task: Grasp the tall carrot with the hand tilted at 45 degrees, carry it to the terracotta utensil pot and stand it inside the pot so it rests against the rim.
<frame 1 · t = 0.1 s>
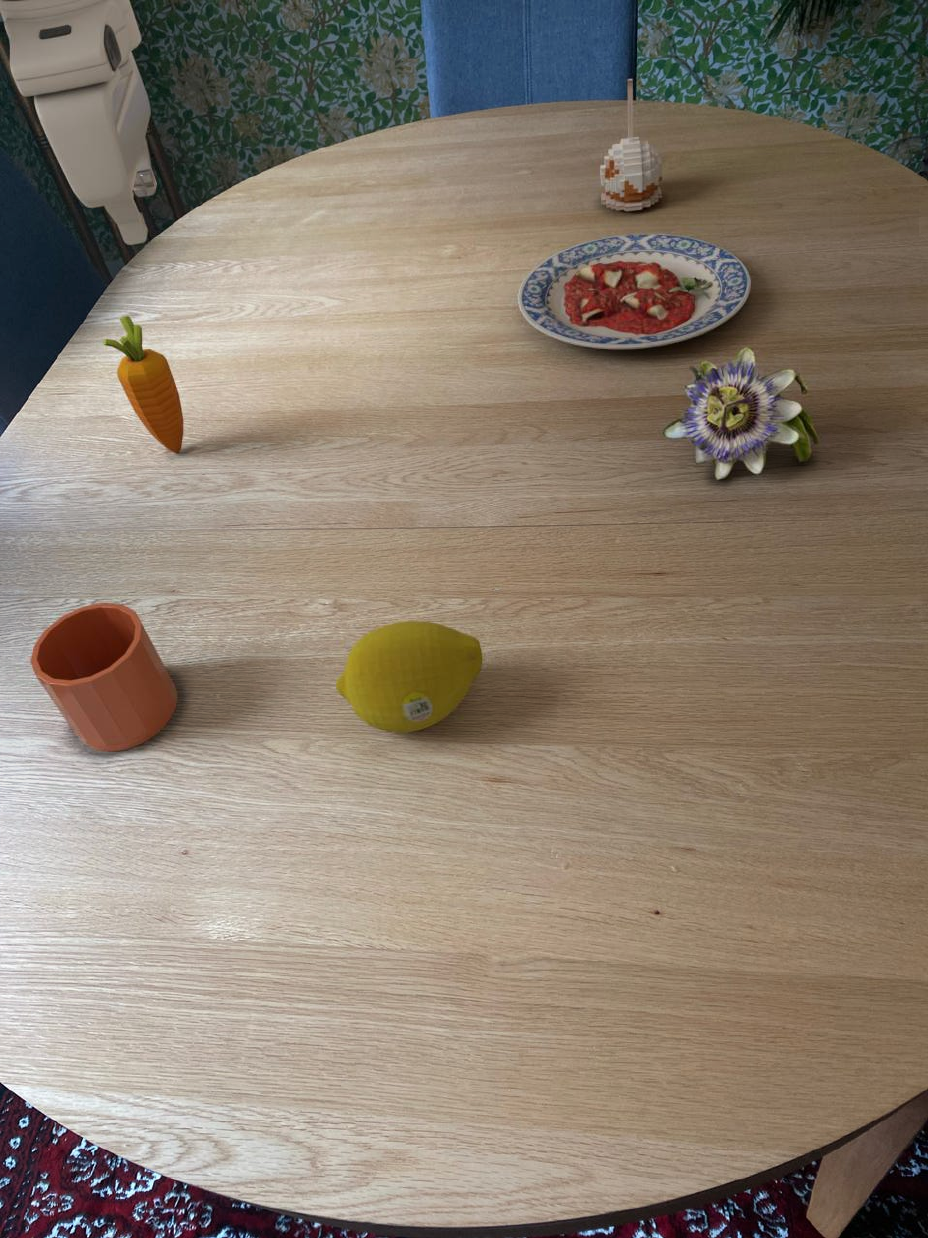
hand: (142, 215, 81), 26 cm above the table, tool pointing down, fingers open, 8 cm apart
lemon: (419, 712, 74), on the table
passion flower: (739, 453, 91), on the table
decorative ornament: (631, 203, 130), on the table
utensil pot: (126, 710, 78), on the table
carrot: (178, 453, 103), on the table
ceramic plate: (632, 305, 112), on the table
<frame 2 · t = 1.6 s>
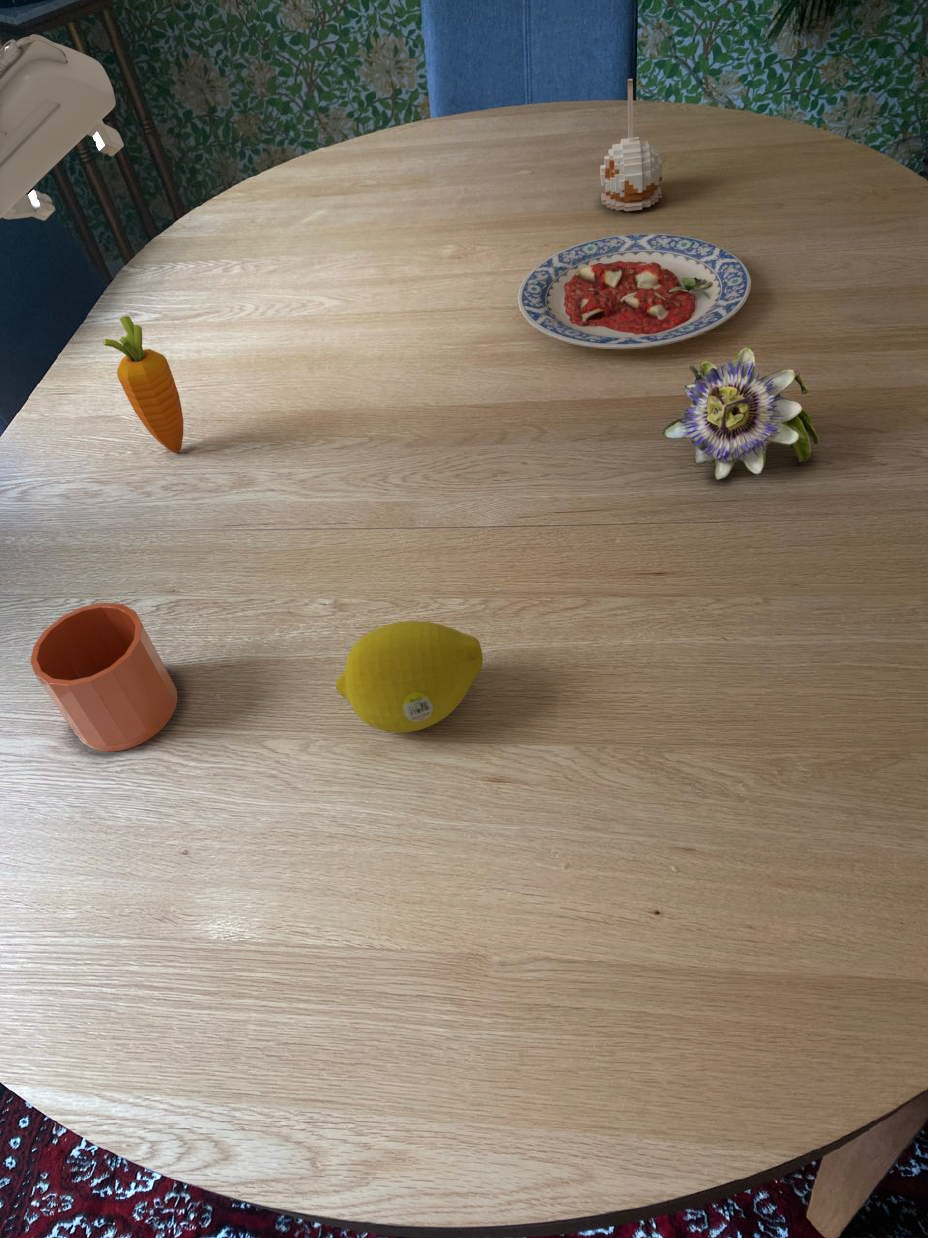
hand: (81, 177, 87), 27 cm above the table, tool tilted 50°, fingers open, 8 cm apart
nothing on the table moved.
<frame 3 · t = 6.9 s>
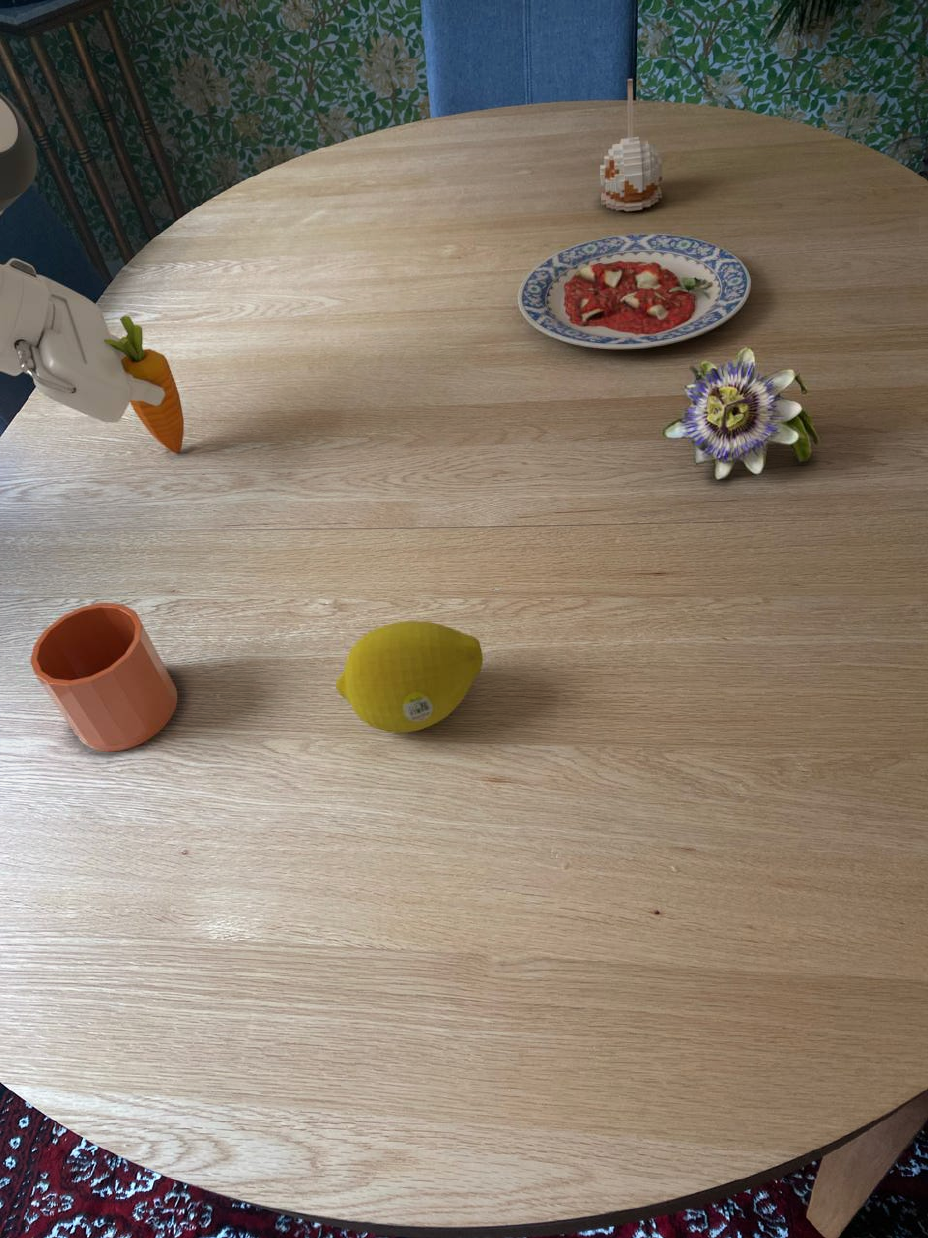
hand: (155, 381, 97), 8 cm above the table, tool tilted 45°, fingers closed on carrot, 5 cm apart
carrot: (178, 453, 103), on the table, touching gripper
everything else where it was.
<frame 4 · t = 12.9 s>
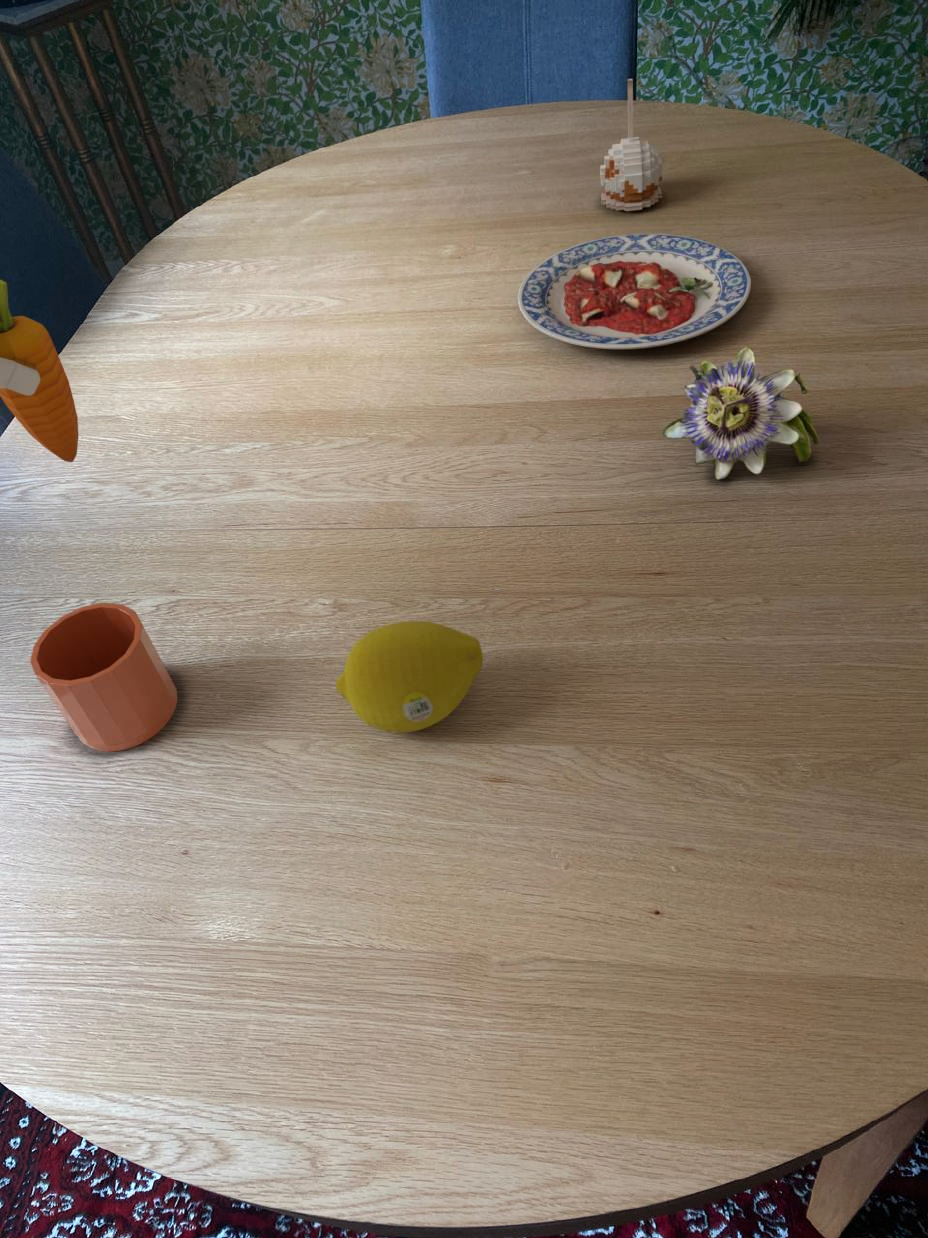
hand: (31, 362, 69), 24 cm above the table, tool tilted 45°, fingers closed on carrot, 5 cm apart
carrot: (72, 463, 75), point 16 cm above the table, touching gripper
everything else where it was.
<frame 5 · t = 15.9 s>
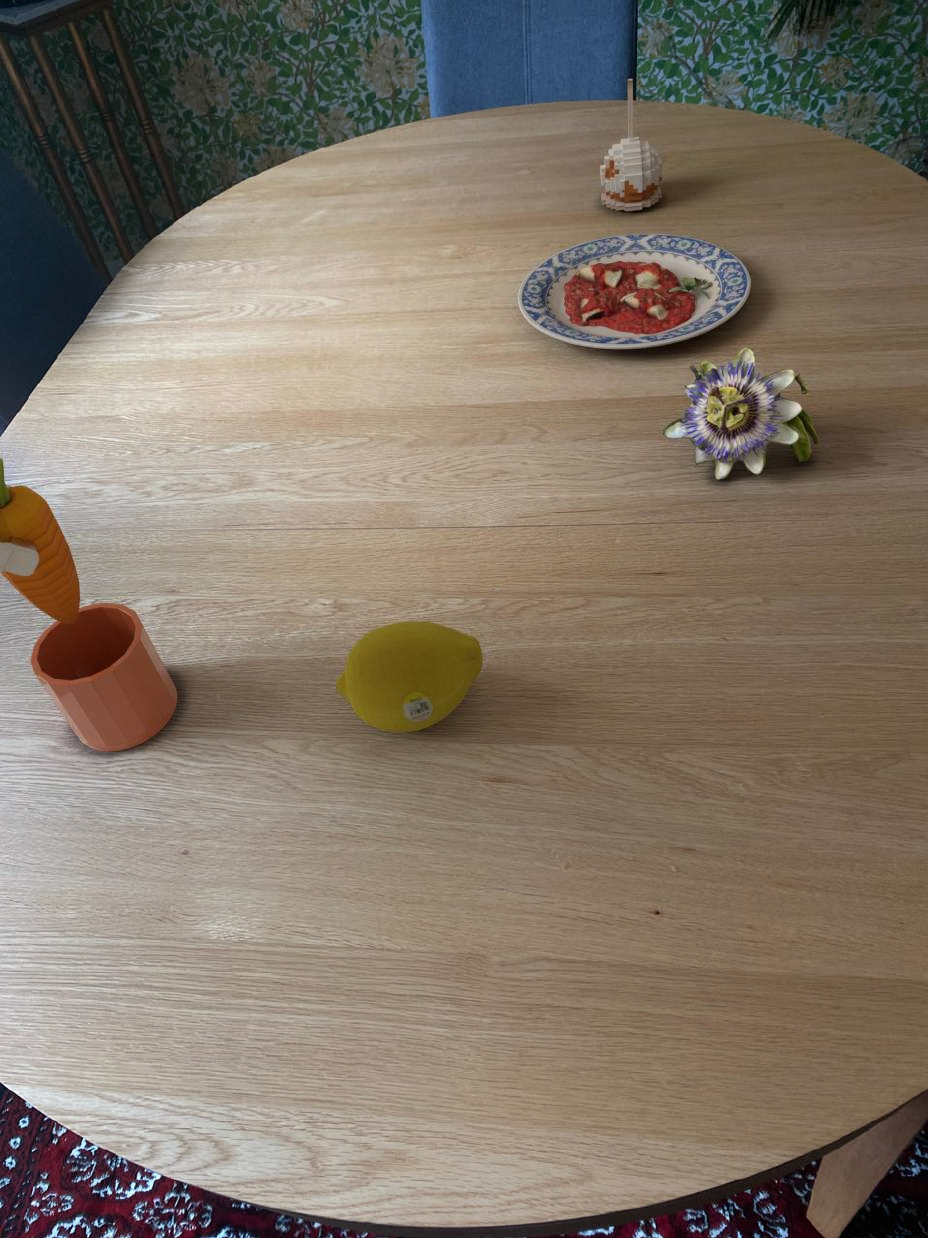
hand: (30, 532, 65), 19 cm above the table, tool tilted 45°, fingers closed on carrot, 5 cm apart
carrot: (74, 624, 71), point 10 cm above the table, touching gripper
everything else where it was.
when the fingers open (9 cm above the table, at t = 18.9 s): carrot stays where it is, resting on utensil pot.
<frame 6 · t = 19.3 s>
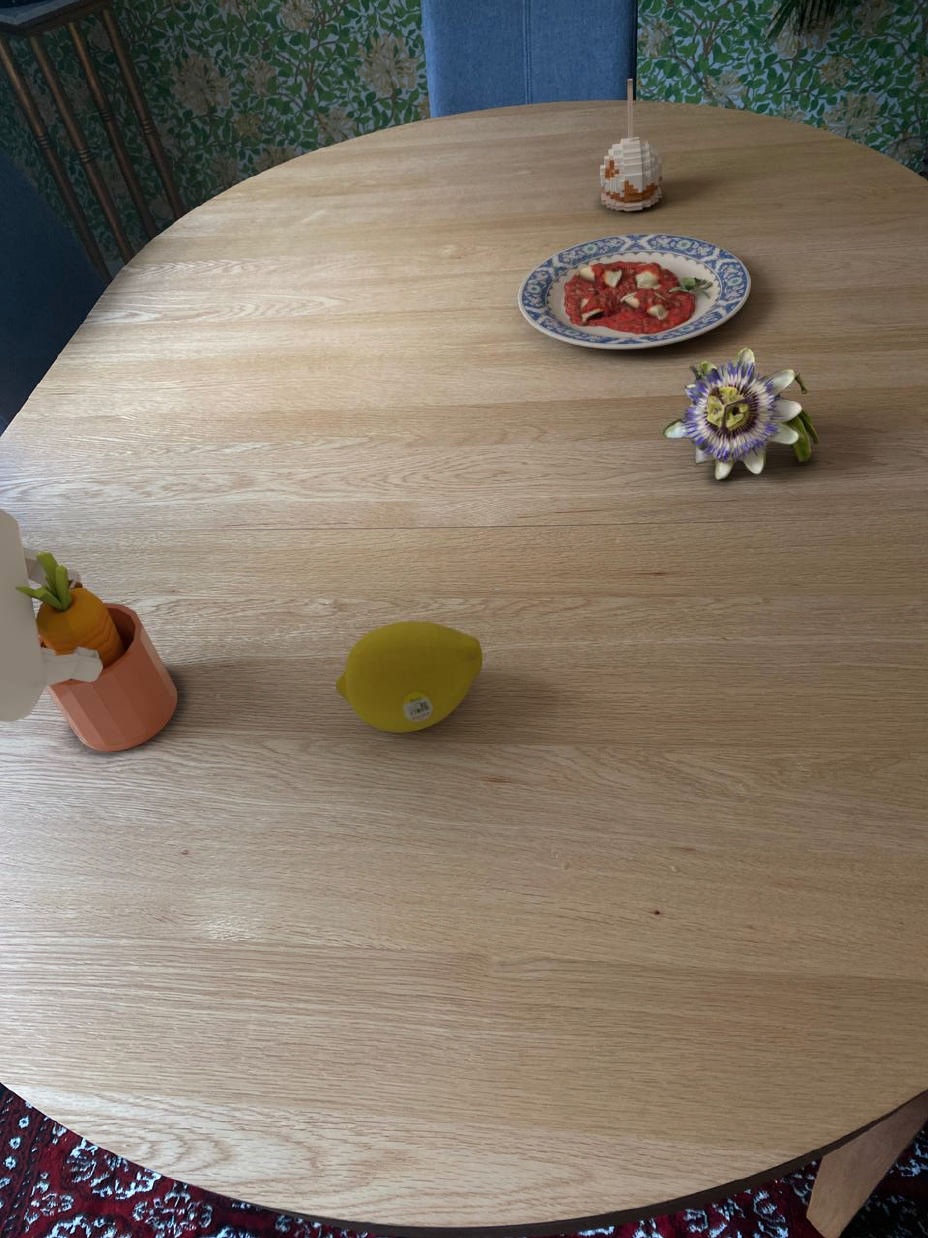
hand: (88, 625, 72), 9 cm above the table, tool tilted 45°, fingers open, 8 cm apart
carrot: (122, 707, 77), point 1 cm above the table, touching utensil pot
everything else where it was.
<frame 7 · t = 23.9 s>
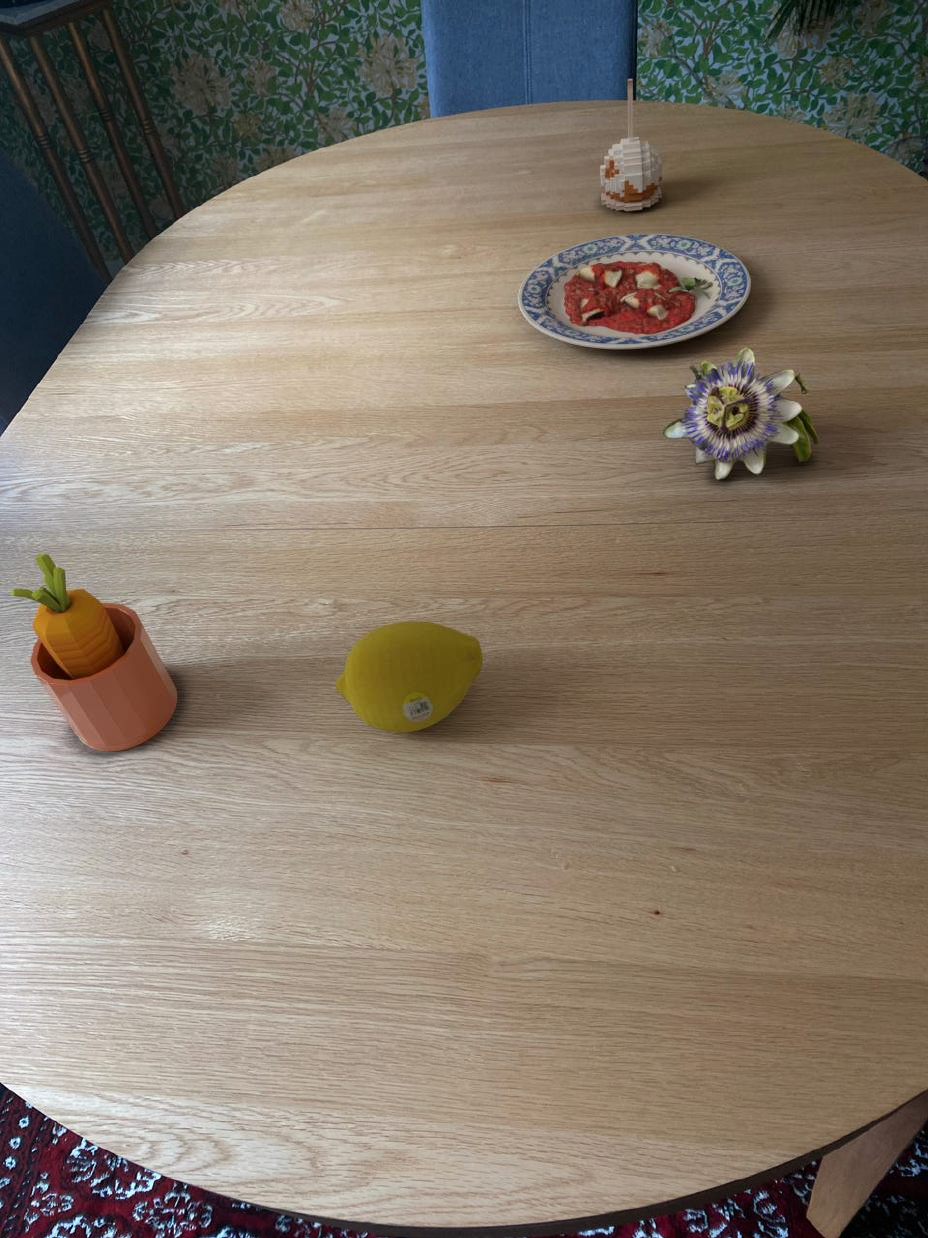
nothing on the table moved.
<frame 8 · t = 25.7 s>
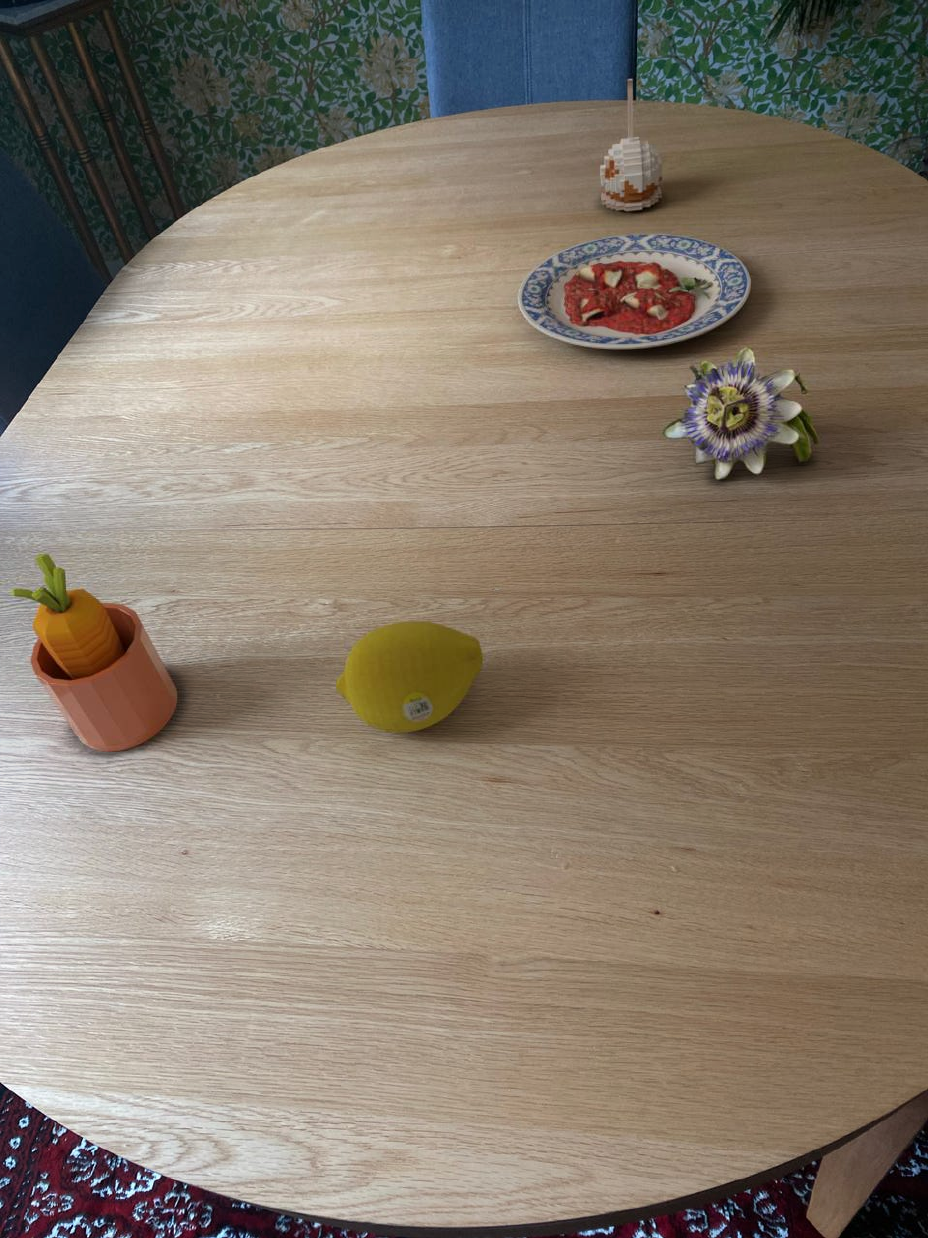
nothing on the table moved.
at the end: carrot 0.2 cm off-centre in the utensil pot, point 0.6 cm above the utensil pot's base; the gripper is holding nothing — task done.
